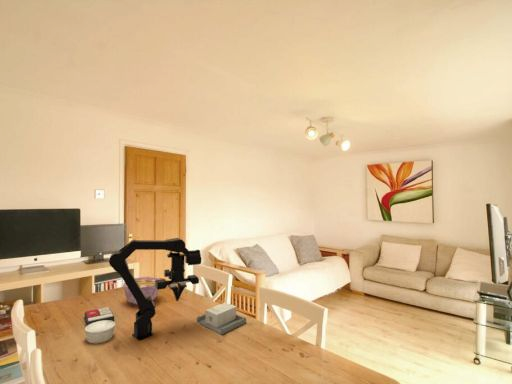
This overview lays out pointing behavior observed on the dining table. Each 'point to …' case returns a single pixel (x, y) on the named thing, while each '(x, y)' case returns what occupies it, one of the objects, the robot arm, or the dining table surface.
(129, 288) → the robot arm
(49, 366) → the dining table surface
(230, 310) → the small box
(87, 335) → the ramekin
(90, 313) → the red and grey box
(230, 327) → the tray
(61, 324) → the dining table surface
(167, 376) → the dining table surface
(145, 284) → the bowl of food
